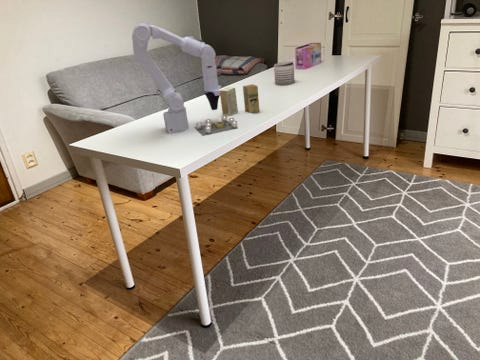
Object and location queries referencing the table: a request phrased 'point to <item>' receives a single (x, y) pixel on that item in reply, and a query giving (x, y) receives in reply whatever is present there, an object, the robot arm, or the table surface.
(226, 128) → the mat
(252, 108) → the shoe polish box
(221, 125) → the nut
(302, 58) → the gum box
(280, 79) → the can
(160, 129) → the table surface
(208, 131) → the spacers
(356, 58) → the table surface
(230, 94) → the skincare box
